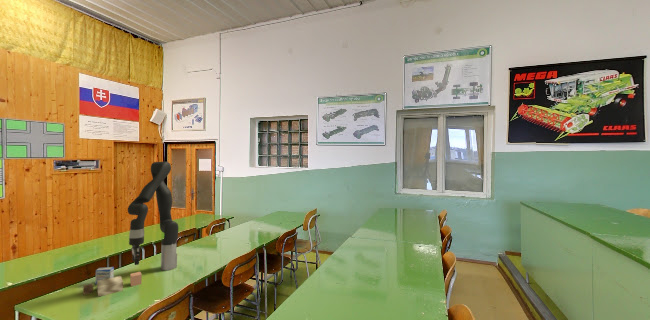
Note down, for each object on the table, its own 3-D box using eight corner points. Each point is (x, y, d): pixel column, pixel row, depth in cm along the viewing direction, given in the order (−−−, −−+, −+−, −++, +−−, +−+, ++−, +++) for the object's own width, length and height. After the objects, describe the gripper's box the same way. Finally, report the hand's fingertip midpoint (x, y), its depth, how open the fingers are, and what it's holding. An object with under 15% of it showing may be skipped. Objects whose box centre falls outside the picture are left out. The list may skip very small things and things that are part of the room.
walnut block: (92, 290, 156) (92, 283, 156) (92, 292, 153) (92, 285, 153) (83, 292, 154) (83, 285, 154) (83, 295, 151) (83, 288, 151)
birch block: (120, 283, 165) (120, 275, 165) (122, 290, 157) (123, 281, 157) (96, 289, 157) (97, 280, 157) (98, 296, 149) (98, 287, 149)
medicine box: (94, 284, 163) (95, 270, 163) (98, 281, 167) (99, 267, 167) (110, 283, 165) (110, 269, 165) (113, 280, 169) (114, 266, 169)
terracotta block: (139, 281, 169) (140, 271, 169) (141, 284, 165) (141, 274, 165) (130, 283, 166) (130, 273, 166) (131, 286, 162) (131, 276, 162)
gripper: (146, 237, 163) (144, 264, 163) (142, 232, 173) (141, 258, 173) (130, 239, 158) (129, 267, 158) (127, 234, 168) (126, 260, 168)
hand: (135, 262), depth 165 cm, fingers open, 8 cm apart
